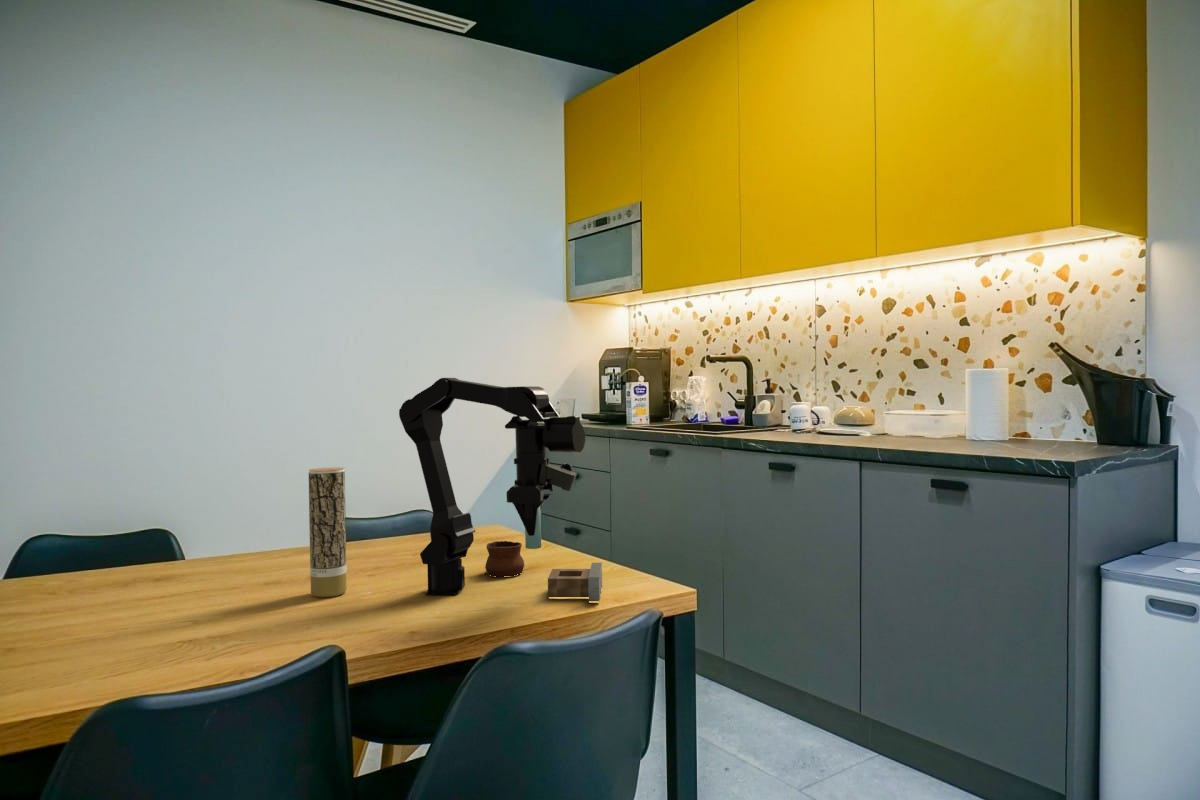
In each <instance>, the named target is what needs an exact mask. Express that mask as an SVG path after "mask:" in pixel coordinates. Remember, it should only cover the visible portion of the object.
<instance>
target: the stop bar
mask: <svg viewBox="0 0 1200 800" xmlns="http://www.w3.org/2000/svg"><path fill="white" fill-rule="evenodd" d="M589 569H590V573H589V576H588V592H589V599H588V602H589V601H599V600H600V601H601V597H600V594H601V595H602V592H601V588H602V589H603V562H591V566H590V568H589Z"/></svg>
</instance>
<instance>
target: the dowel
mask: <svg viewBox="0 0 1200 800" xmlns="http://www.w3.org/2000/svg"><path fill="white" fill-rule="evenodd" d="M541 515H542V512H541V513H540V507H539V508H538V515H537V522H536V529H535V535H534V536H529V535H528V533H527V531H526V529H525V528H524V535H525V536H524V537H525V538H524V539H525V541H524V543H525V548H526V549H528V550H535V549H540V548H542V526H541V525H542V519H541V517H542V516H541Z"/></svg>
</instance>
